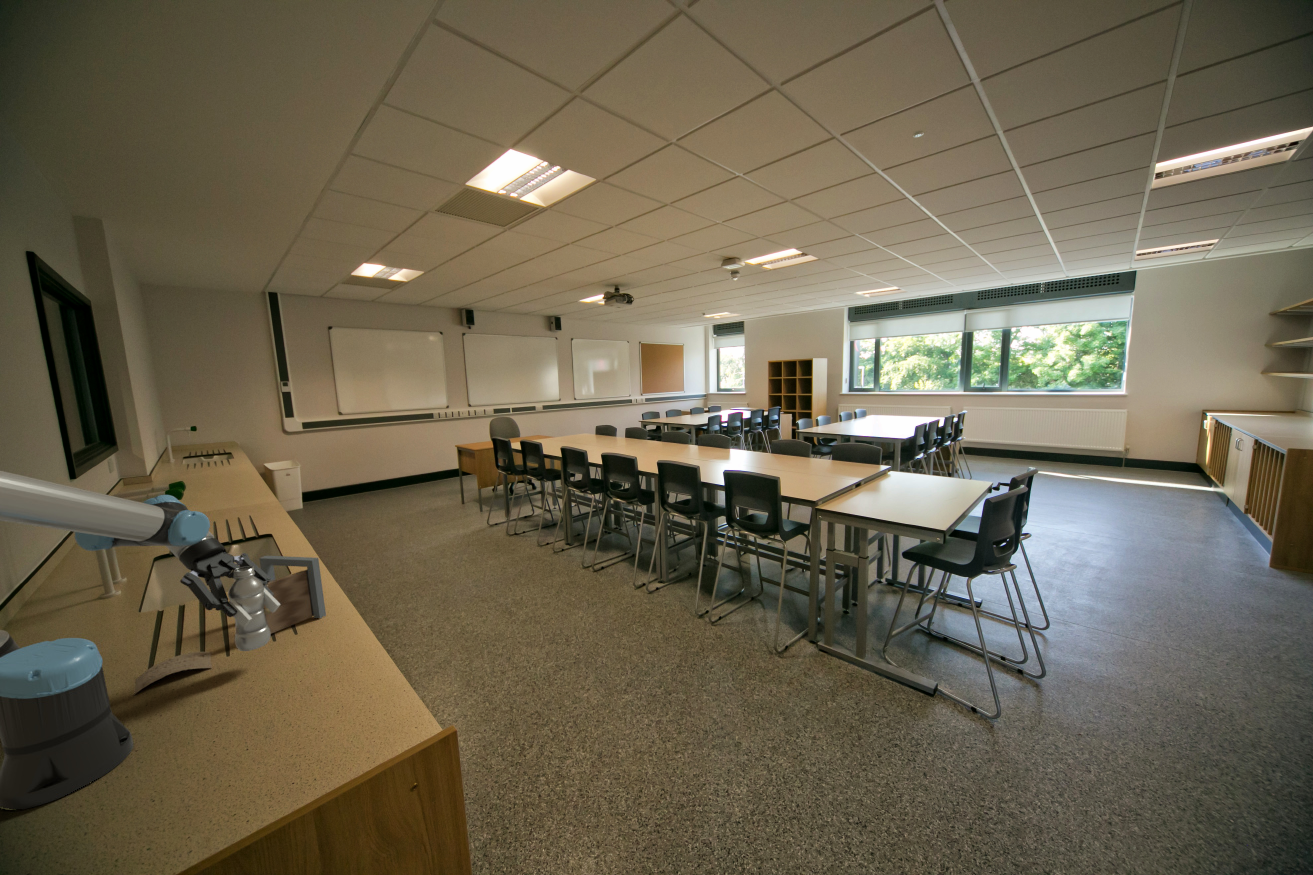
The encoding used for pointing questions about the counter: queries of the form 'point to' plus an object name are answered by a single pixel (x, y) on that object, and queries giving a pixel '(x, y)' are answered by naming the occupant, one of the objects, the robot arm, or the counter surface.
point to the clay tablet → (173, 667)
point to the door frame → (313, 576)
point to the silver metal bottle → (249, 609)
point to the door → (290, 601)
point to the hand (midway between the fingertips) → (262, 615)
